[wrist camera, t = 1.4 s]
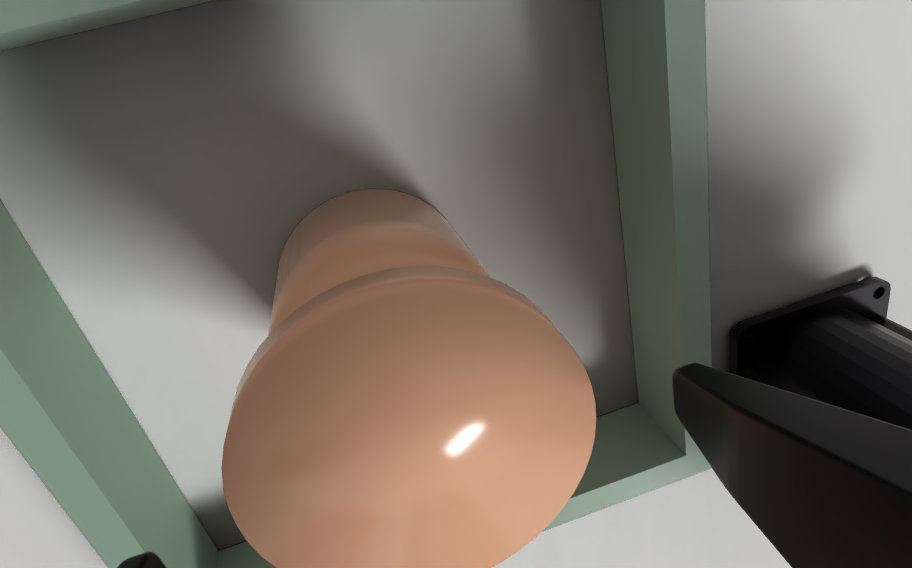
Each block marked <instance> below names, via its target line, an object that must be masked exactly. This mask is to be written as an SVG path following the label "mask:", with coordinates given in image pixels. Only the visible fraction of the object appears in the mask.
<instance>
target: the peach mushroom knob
mask: <svg viewBox="0 0 912 568" xmlns="http://www.w3.org/2000/svg"><path fill="white" fill-rule="evenodd" d="M595 429H596V405H595V398H594V394H593V389H592V385H591V382H590V379H589V377H588V374H587V372H586V369H585V367H584V365H583V363H582V362H581V360H580V358H579V357H578V355H577V353H576V352H575V350H574V349H573V348H572V346H571V345H570V344H569V343H568V342H567V340H566V339H565V338H564V337H563V336H562V335H561V333H560V332H559V331H558V330H557V329H556V328H555V326H554V325H553V324H552V323H551V322H550V320H549V319H548V318H547V317H546V316H545V315H544V314H543V312H542V311H541V310H540V309H539V308H538V307H537V306H536V305H535V304H533V303H532V302H531V301H530V300H529V299H527V298H526V297H525V296H524V295H522V294H521V293H519V292H517V291H516V290H514V289H513V288H511V287H509V286H508V285H506V284H504V283H501V282H499V281H497V280H494V279H492V278H490V277H489V275H488V274H487V273H486V271H485V270H484V269H483V267H482V266H481V265H480V263H479V262H478V261H477V259H476V258H475V257H474V255H473V254H472V253H471V251H470V250H469V249H468V247H467V246H466V245H465V243H464V242H463V241H462V239H461V238H460V237H459V235H458V234H457V233H456V231H455V230H454V229H453V227H452V226H451V225H450V223H449V222H448V221H447V220H446V219H445V218H444V217H443V215H442V214H440V213H439V212H438V211H437V210H436V209H435V208H433V207H432V206H430V205H429V204H427V203H426V202H424V201H423V200H421V199H418V198H416V197H414V196H412V195H409V194H406V193H403V192H399V191H394V190H388V189H364V190H357V191H352V192H348V193H345V194H342V195H339V196H336V197H334V198H332V199H330V200H328V201H326V202H324V203H322V204H321V205H319V206H318V207H317V208H315V209H314V210H312V211H311V212H310V213H309V214H308V215H307V216H306V217H304V218H303V219H302V220H301V222H300V223H299V224H298V225H297V226H296V228H295V229H294V230H293V232H292V234H291V235H290V237H289V238H288V240H287V242H286V245H285V247H284V249H283V252H282V255H281V259H280V262H279V269H278V275H277V282H276V288H275V295H274V302H273V308H272V315H271V321H270V328H269V335H268V337H267V338H266V339H265V341H264V342H263V343H262V344H261V345H260V346H259V348H258V350H257V351H256V353H255V354H254V356H253V357H252V359H251V361H250V362H249V364H248V365H247V367H246V369H245V372H244V374H243V376H242V378H241V381H240V383H239V385H238V388H237V392H236V395H235V399H234V403H233V406H232V411H231V415H230V420H229V424H228V429H227V433H226V438H225V442H224V448H223V459H222V479H223V489H224V493H225V497H226V501H227V504H228V508H229V510H230V513H231V515H232V517H233V519H234V521H235V523H236V525H237V527H238V529H239V530H240V532H241V533H242V534H243V536H244V537H245V539H246V540H247V542H248V543H249V544H250V545H251V546H252V547H253V548H254V549H255V550H256V551H257V552H258V553H259V554H260V555H261V556H262V557H263V558H264V559H265V560H267V561H268V562H269V563H271V564H272V565H273V566H275V567H276V568H491V567H493V566H495V565H497V564H499V563H501V562H502V561H504V560H505V559H507V558H508V557H510V556H511V555H513V554H515V553H516V552H518V551H519V550H520V549H522V548H523V547H524V546H525V545H527V544H528V543H529V542H530V541H532V540H533V539H534V538H535V537H537V536H538V535H539V534H540V533H541V532H542V531H543V530H544V529H545V528H546V527H547V526H548V525H549V524H550V523H551V522H552V521H553V520H554V518H555V517H556V516H557V515H558V514H559V512H560V511H561V510H562V509H563V508H564V506H565V505H566V503H567V502H568V500H569V499H570V497H571V496H572V495H573V493H574V492H575V490H576V488H577V486H578V484H579V482H580V480H581V478H582V477H583V475H584V472H585V469H586V467H587V464H588V462H589V459H590V456H591V452H592V448H593V443H594V439H595Z"/></svg>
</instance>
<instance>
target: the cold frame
mask: <svg viewBox="0 0 912 568" xmlns="http://www.w3.org/2000/svg"><path fill="white" fill-rule="evenodd" d="M209 1H213V0H0V51H3V50H7V49H11V48H15V47H20V46H24V45H28V44H32V43H36V42H41V41H45V40H49V39H53V38H58V37H62V36H66V35H70V34H74V33H79V32H83V31H87V30H91V29H95V28H100V27H104V26H108V25H112V24H117V23H121V22H125V21H129V20H133V19H138V18H142V17H146V16H150V15H154V14H159V13H163V12H167V11H171V10H176V9H180V8H184V7H188V6H192V5H197V4H201V3H205V2H209ZM601 10H602V20H603V31H604V41H605V52H606V63H607V73H608V84H609V94H610V105H611V116H612V126H613V137H614V147H615V158H616V169H617V179H618V190H619V200H620V211H621V222H622V232H623V243H624V253H625V264H626V275H627V285H628V296H629V306H630V317H631V328H632V338H633V349H634V359H635V370H636V381H637V391H638V402H639V403H637V404H634V405H631V406H628V407H626V408H623V409H620V410H617V411H614V412H611V413H609V414H606V415H603V416H600V417H597V418H596V429H595V439H594V443H593V448H592V452H591V456H590V459H589V462H588V464H587V467H586V469H585V472H584V475H583V477H582V478H581V480H580V482H579V484H578V486H577V488H576V490H575V492H574V493H573V495H572V496H571V497H570V499H569V500H568V502H567V503H566V505H565V506H564V508H563V509H562V510H561V511H560V512H559V514H558V515H557V516H556V517H555V518H554V520H553V521H552V522H551V523H550V524H549V525H548V526H547V527H546V528H545V529H544V530H543V531H545V530H548V529H551V528H553V527H556V526H559V525H561V524H564V523H567V522H569V521H572V520H575V519H577V518H580V517H583V516H585V515H588V514H591V513H593V512H596V511H599V510H601V509H604V508H607V507H609V506H612V505H615V504H617V503H620V502H623V501H625V500H628V499H631V498H633V497H636V496H639V495H641V494H644V493H647V492H649V491H652V490H655V489H657V488H660V487H663V486H665V485H668V484H671V483H673V482H676V481H679V480H681V479H684V478H687V477H689V476H692V475H695V474H697V473H700V472H703V471H705V470H708V469H711V468H712V467H711V466H710V464H709V463H708V461H707V460H706V458H705V457H704V455H703V454H702V453H701V451H700V450H699V448H698V447H697V445H696V444H695V442H694V441H693V439H692V438H691V436H690V435H689V433H688V432H687V430H686V429H685V428H684V426H683V425H682V423H681V422H680V420H679V418H678V417H677V415H676V412H675V409H674V401H673V385H672V374H673V371H674V370H675V369H677V368H679V367H682V366H685V365H688V364H691V363H699V364H703V365H706V366H709V367H712V356H711V302H710V249H709V195H708V142H707V88H706V34H705V0H601ZM0 427H1V429H2V430H3V431H4V432H5V434H6V435H7V436H8V438H9V439H10V440H11V442H12V443H13V444H14V445H15V447H16V448H17V449H18V451H19V452H20V453H21V455H22V456H23V457H24V458H25V460H26V461H27V462H28V464H29V465H30V466H31V468H32V469H33V470H34V471H35V473H36V474H37V475H38V477H39V478H40V479H41V481H42V482H43V483H44V484H45V486H46V487H47V488H48V490H49V491H50V492H51V494H52V495H53V496H54V497H55V499H56V500H57V501H58V503H59V504H60V505H61V507H62V508H63V509H64V510H65V512H66V513H67V514H68V516H69V517H70V518H71V520H72V521H73V522H74V523H75V525H76V526H77V527H78V529H79V530H80V531H81V533H82V534H83V535H84V537H85V538H86V539H87V540H88V542H89V543H90V544H91V546H92V547H93V548H94V550H95V551H96V552H97V553H98V555H99V556H100V557H101V559H102V560H103V561H104V563H105V564H106V565H107V566H108V568H117V567H118V566H119V565H120V564H121V563H122V562H123V561H124V560H126V559H128V558H130V557H133V556H136V555H139V554H141V553H144V552H148V551H152V552H154V553H156V554H157V555H158V556H159V558H160V559H161V561H162V562H163V563H164V565H165V566H166V568H276V567H275V566H273V565H272V564H271V563H269V562H268V561H267V560H265V559H264V558H263V557H262V556H261V555H260V554H259V553H258V552H257V551H256V550H255V549H254V548H253V547H252V546H251V545H250V544H249V543H248V542H247V541H246V542H243V543H240V544H237V545H235V546H232V547H229V548H226V549H223V550H220V551H218V550H217V548H216V547H215V545H214V543H213V542H212V540H211V539H210V537H209V535H208V534H207V532H206V531H205V529H204V527H203V526H202V524H201V522H200V521H199V519H198V518H197V516H196V514H195V513H194V511H193V510H192V508H191V506H190V505H189V503H188V501H187V500H186V498H185V497H184V495H183V493H182V492H181V490H180V489H179V487H178V485H177V484H176V482H175V481H174V479H173V477H172V476H171V474H170V472H169V471H168V469H167V468H166V466H165V464H164V463H163V461H162V460H161V458H160V456H159V455H158V453H157V452H156V450H155V448H154V447H153V445H152V443H151V442H150V440H149V439H148V437H147V435H146V434H145V432H144V431H143V429H142V427H141V426H140V424H139V422H138V421H137V419H136V418H135V416H134V414H133V413H132V411H131V410H130V408H129V406H128V405H127V403H126V402H125V400H124V398H123V397H122V395H121V393H120V392H119V390H118V389H117V387H116V385H115V384H114V382H113V381H112V379H111V377H110V376H109V374H108V372H107V371H106V369H105V368H104V366H103V364H102V363H101V361H100V360H99V358H98V356H97V355H96V353H95V352H94V350H93V348H92V347H91V345H90V343H89V342H88V340H87V339H86V337H85V335H84V334H83V332H82V331H81V329H80V327H79V326H78V324H77V323H76V321H75V319H74V318H73V316H72V314H71V313H70V311H69V310H68V308H67V306H66V305H65V303H64V302H63V300H62V298H61V297H60V295H59V293H58V292H57V290H56V289H55V287H54V285H53V284H52V282H51V281H50V279H49V277H48V276H47V274H46V273H45V271H44V269H43V268H42V266H41V264H40V263H39V261H38V260H37V258H36V256H35V255H34V253H33V252H32V250H31V248H30V247H29V245H28V243H27V242H26V240H25V239H24V237H23V235H22V234H21V232H20V231H19V229H18V227H17V226H16V224H15V223H14V221H13V219H12V218H11V216H10V214H9V213H8V211H7V210H6V208H5V206H4V205H3V203H2V202H1V200H0ZM543 531H542V532H543Z"/></svg>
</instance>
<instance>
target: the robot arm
mask: <svg viewBox="0 0 912 568" xmlns="http://www.w3.org/2000/svg"><path fill="white" fill-rule="evenodd" d="M889 296H890V284H889V282H887V281H885V280H882V279H880V278H878V277H870V278H867V279H865V280H862V281H859V282H856V283H853V284H850V285H847V286H844V287H841V288H838V289H835V290H832V291H830V292H827V293H824V294H821V295H818V296H815V297H812V298H809V299H806V300H803V301H800V302H797V303H794V304H792V305H789V306H786V307H783V308H780V309H777V310H774V311H771V312H768V313H765V314H762V315H759V316H756V317H754V318H751V319H748V320H745V321H742V322H740V323H738V324H737V325H736V326H735V327H734V328H733V330H732V331H731V335H730V373H728V372H725V371H722V370H718V369H715V368H712V367H709V366H706V365H703V364H699V363H691V364H688V365H685V366H682V367H679V368H677V369H675V370H674V371H673V374H672V385H673V401H674V409H675V412H676V415H677V417H678V418H679V420H680V422H681V423H682V425H683V426H684V428H685V429H686V430H687V432H688V433H689V435H690V436H691V438H692V439H693V441H694V442H695V444H696V445H697V447H698V448H699V450H700V451H701V453H702V454H703V455H704V457H705V458H706V460H707V461H708V463H709V464H710V466H711V467H712V469H713V470H714V472H715V473H716V475H717V476H718V478H719V479H720V480H721V482H722V483H723V485H724V486H725V487H726V489H727V490H728V492H729V493H730V494H731V495H732V497H733V498H734V499H735V500H736V501H737V503H738V504H739V505H740V506H741V508H742V509H743V510H744V511H745V512H746V513H747V515H748V516H749V517H750V518H751V519H752V521H753V522H754V523H755V524H756V525H757V526H758V528H759V529H760V530H761V531H762V532H763V534H764V535H765V536H766V537H767V538H768V540H769V541H770V542H771V543H772V544H773V545H774V547H775V548H776V549H777V550H778V551H779V553H780V554H781V555H782V556H783V557H784V558H785V560H786V561H787V562H788V563H789V564H790V566H791V567H792V568H912V331H911V330H909V329H907V328H905V327H903V326H901V325H899V324H897V323H895V322H893V321H891V320H889V319H887V318H886V316H887V310H888V303H889ZM746 334H747V335H746ZM745 335H746V336H745ZM744 336H745V337H744ZM117 568H166V566H165V565H164V563H163V562H162V561H161V559H160V558H159V556H158V555H157V554H156V553H154V552H152V551H148V552H144V553H141V554H139V555H136V556H133V557H130V558H128V559H126V560H124V561H123V562H122V563H121V564H120V565H119V566H118V567H117Z"/></svg>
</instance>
